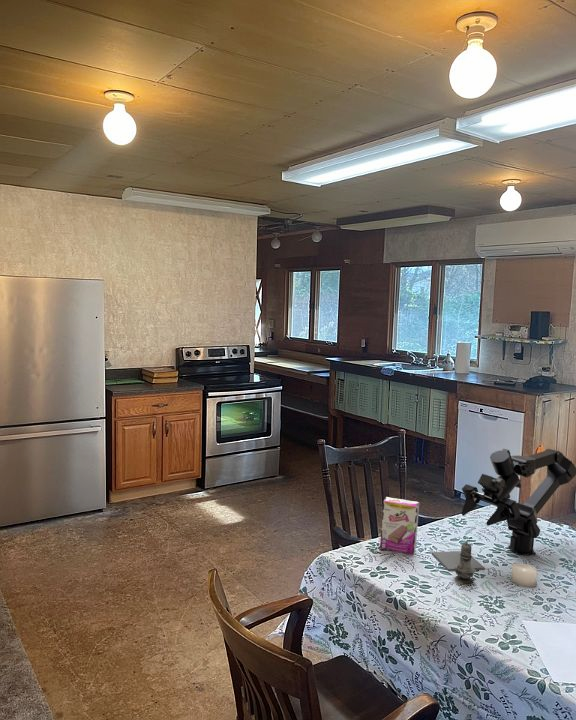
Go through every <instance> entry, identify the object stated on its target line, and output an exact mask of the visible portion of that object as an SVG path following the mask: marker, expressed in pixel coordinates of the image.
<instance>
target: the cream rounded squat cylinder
mask: <svg viewBox="0 0 576 720" xmlns="http://www.w3.org/2000/svg"><path fill="white" fill-rule="evenodd" d="M537 578H538V569H537V568H536V567H535V566H533V565H530V564H526V563H522V562H515V563H513V564H511V572H510V580H511V582H512V583H514V584H515V585H518V586H521V587H529V588H531V587H535V586H536V585H537Z"/></svg>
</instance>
